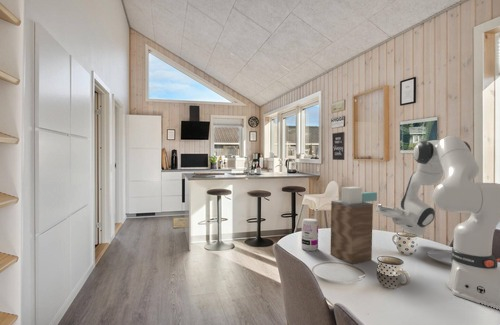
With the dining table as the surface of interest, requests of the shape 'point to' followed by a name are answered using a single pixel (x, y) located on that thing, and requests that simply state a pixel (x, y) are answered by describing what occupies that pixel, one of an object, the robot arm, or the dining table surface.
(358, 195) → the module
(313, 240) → the supplement can
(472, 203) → the robot arm
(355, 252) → the pedestal
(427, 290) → the dining table surface
